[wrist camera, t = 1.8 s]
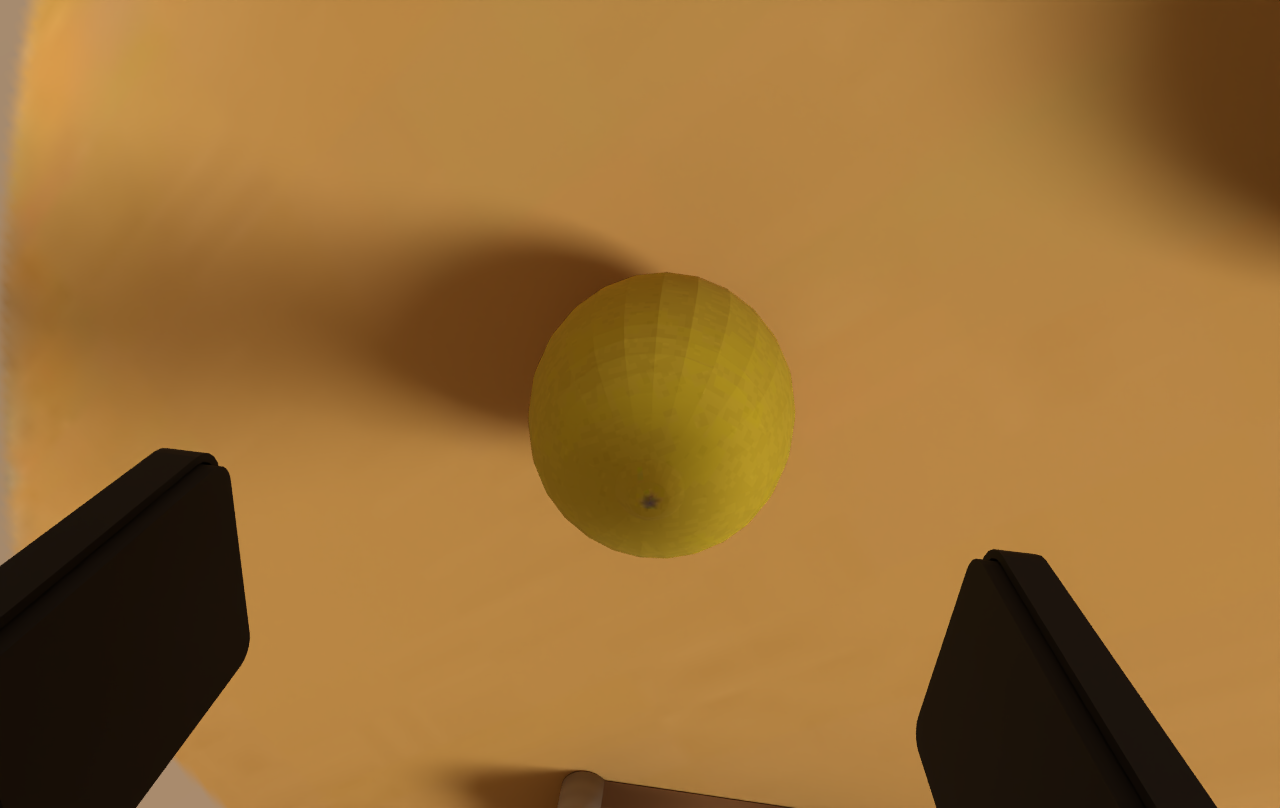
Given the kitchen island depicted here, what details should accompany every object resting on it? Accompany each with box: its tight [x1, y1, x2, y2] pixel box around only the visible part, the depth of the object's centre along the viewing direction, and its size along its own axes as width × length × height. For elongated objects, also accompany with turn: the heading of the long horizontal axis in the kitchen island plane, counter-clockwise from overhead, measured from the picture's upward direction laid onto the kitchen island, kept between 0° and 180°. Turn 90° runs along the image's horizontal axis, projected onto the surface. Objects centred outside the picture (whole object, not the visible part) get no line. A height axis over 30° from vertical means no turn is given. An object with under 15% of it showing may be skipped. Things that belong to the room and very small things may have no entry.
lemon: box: [528, 272, 795, 558], centre depth 17 cm, size 6×6×8 cm
